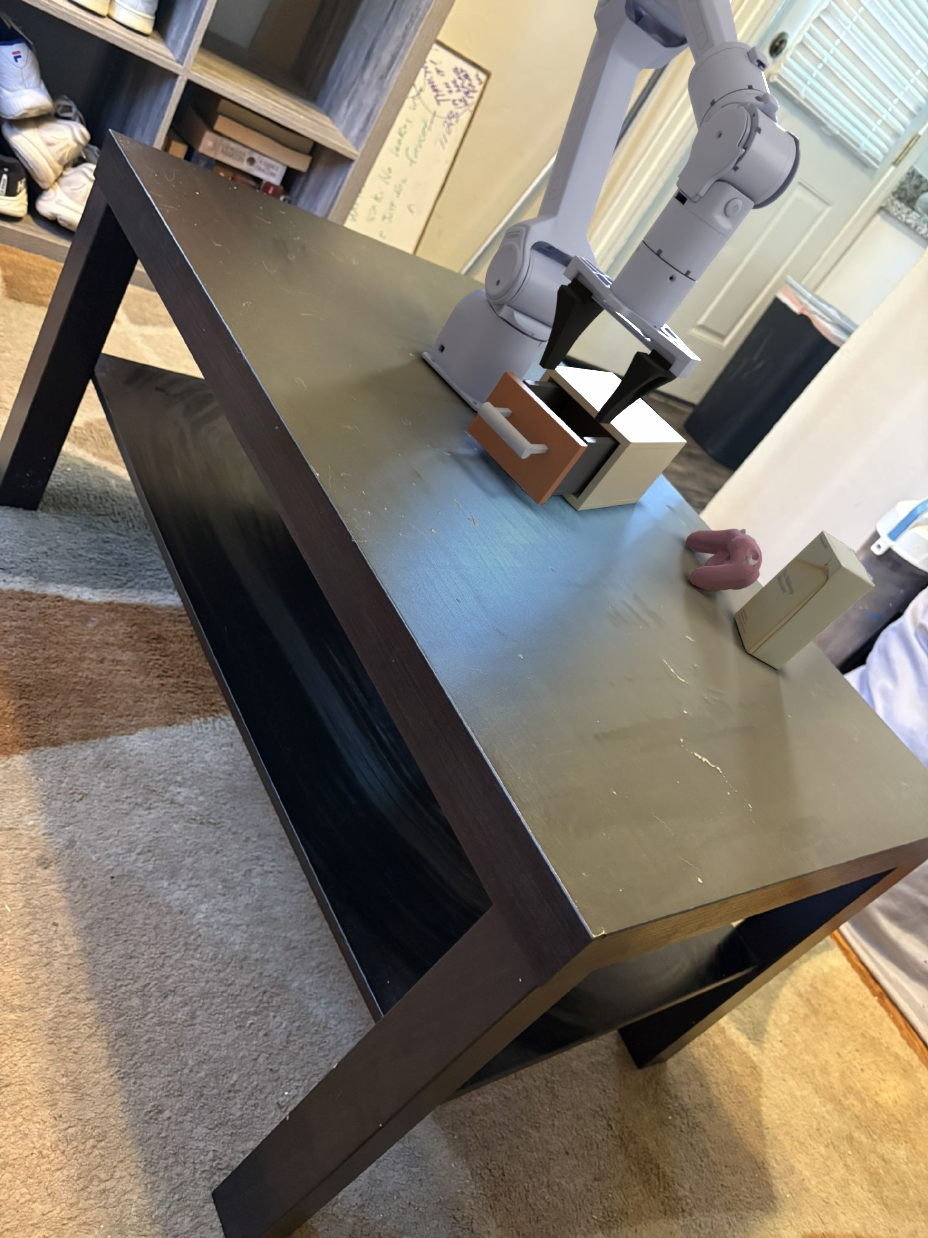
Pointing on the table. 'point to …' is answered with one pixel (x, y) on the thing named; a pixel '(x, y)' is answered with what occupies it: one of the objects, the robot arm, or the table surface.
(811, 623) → the cosmetic box
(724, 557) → the pink curved piece
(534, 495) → the pod drawer
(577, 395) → the mini drawer cabinet
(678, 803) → the table surface
